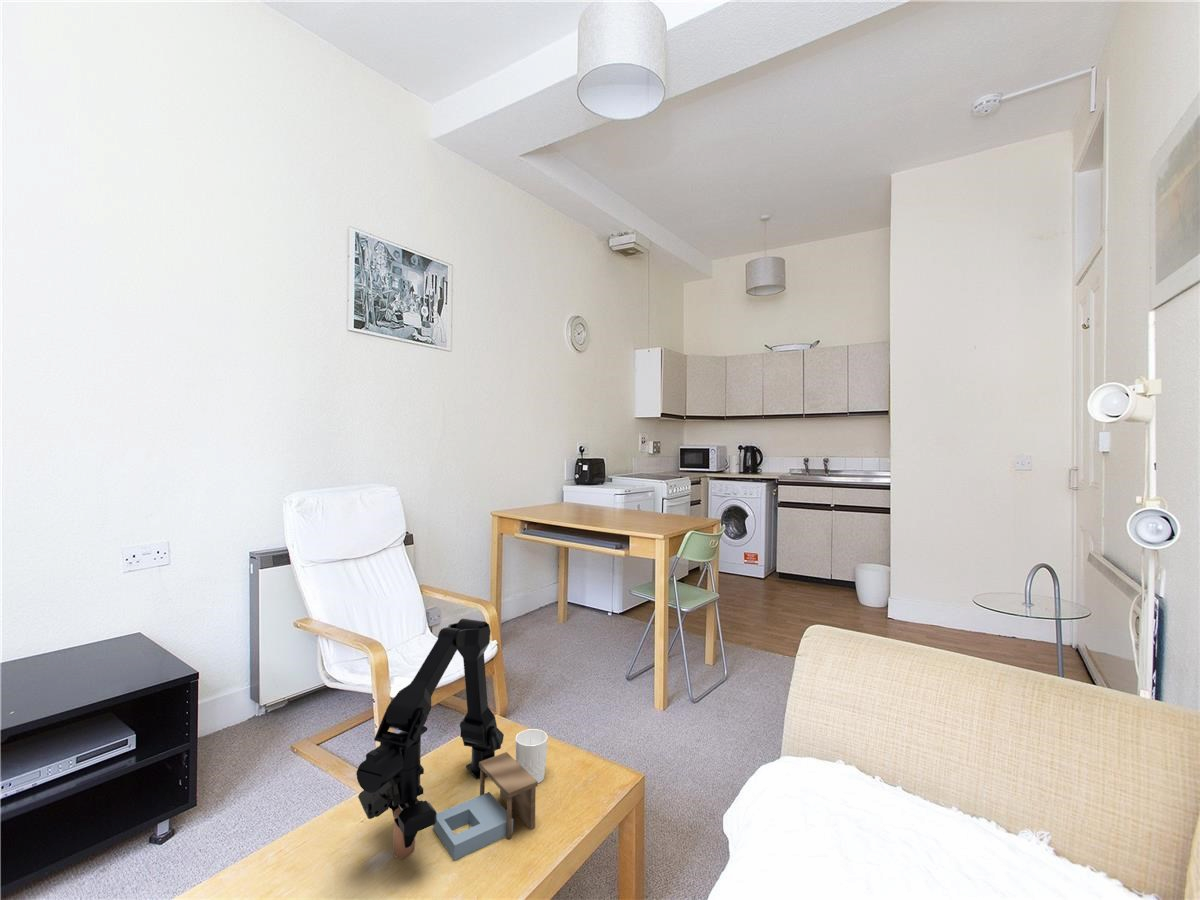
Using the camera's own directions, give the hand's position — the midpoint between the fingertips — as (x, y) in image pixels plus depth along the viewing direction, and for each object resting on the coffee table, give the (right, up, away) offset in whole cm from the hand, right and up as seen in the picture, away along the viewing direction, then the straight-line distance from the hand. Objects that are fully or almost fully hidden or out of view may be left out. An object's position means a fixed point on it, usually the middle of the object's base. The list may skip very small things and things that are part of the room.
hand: (404, 840), depth 110 cm
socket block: (+12, -2, +6) cm, 14 cm away
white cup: (+22, -3, +25) cm, 34 cm away
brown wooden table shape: (+19, -2, +11) cm, 22 cm away
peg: (0, -2, 0) cm, 2 cm away
